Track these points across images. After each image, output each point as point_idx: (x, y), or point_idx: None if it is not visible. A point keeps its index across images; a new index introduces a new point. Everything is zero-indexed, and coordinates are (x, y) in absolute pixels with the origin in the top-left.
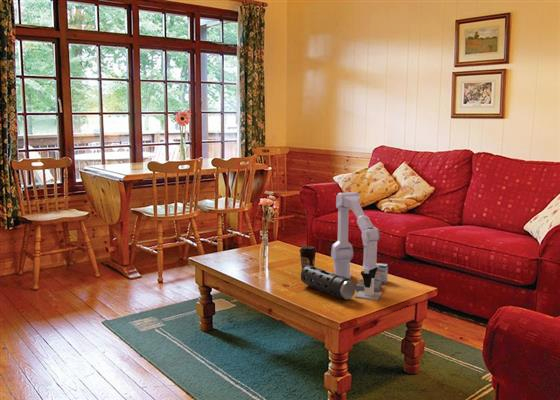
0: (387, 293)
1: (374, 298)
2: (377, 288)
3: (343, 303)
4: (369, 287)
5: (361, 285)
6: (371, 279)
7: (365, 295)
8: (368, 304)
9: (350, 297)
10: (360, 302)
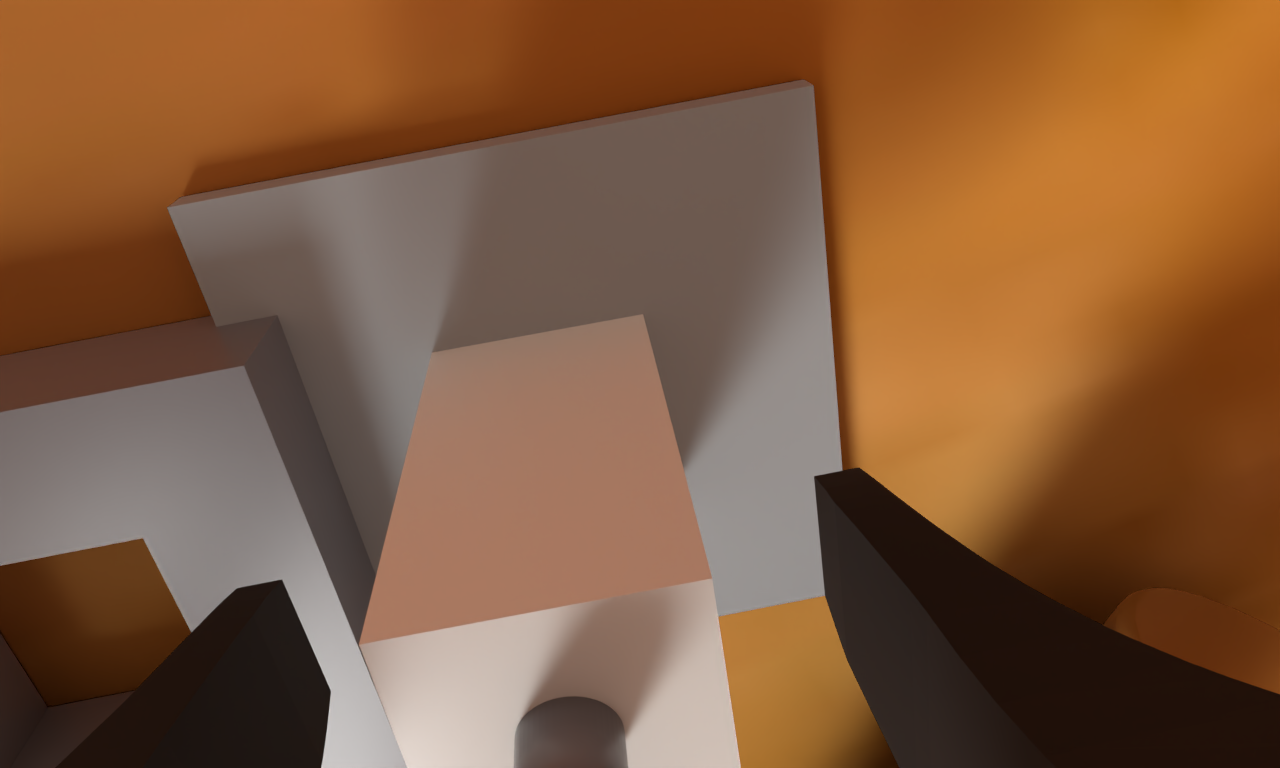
0: (62, 59)
1: (804, 186)
2: (246, 362)
3: (1244, 597)
4: (862, 472)
5: (335, 749)
6: (966, 626)
7: (696, 451)
8: (1170, 174)
9: (1189, 603)
10: (1092, 375)
